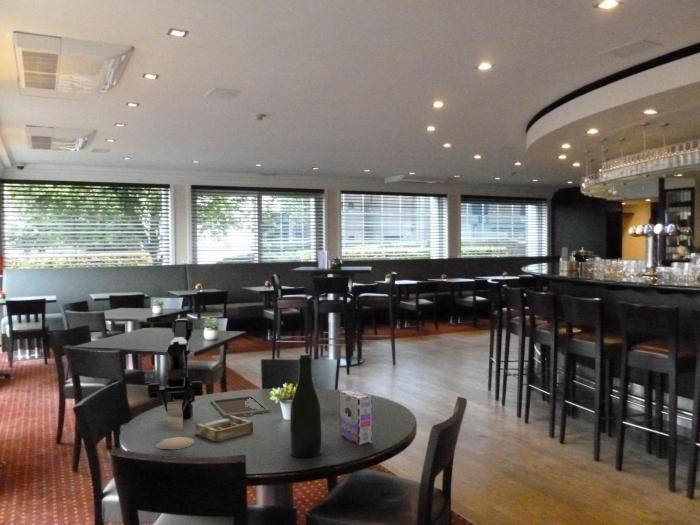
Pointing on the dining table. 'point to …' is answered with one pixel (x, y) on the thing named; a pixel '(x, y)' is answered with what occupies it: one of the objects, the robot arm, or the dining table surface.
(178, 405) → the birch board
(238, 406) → the picture frame
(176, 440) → the cork mat
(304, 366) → the green wine bottle
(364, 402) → the candy box
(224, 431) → the frame
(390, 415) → the dining table surface
